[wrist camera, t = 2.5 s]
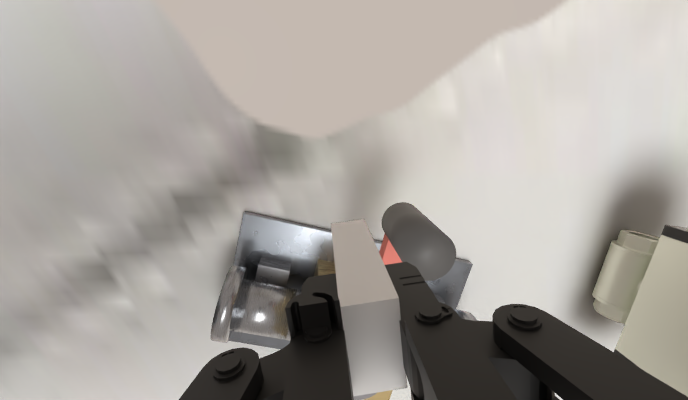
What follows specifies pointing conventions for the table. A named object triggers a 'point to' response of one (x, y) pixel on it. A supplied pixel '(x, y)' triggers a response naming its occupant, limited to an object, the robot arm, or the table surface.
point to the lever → (414, 245)
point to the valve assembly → (290, 281)
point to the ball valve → (649, 301)
